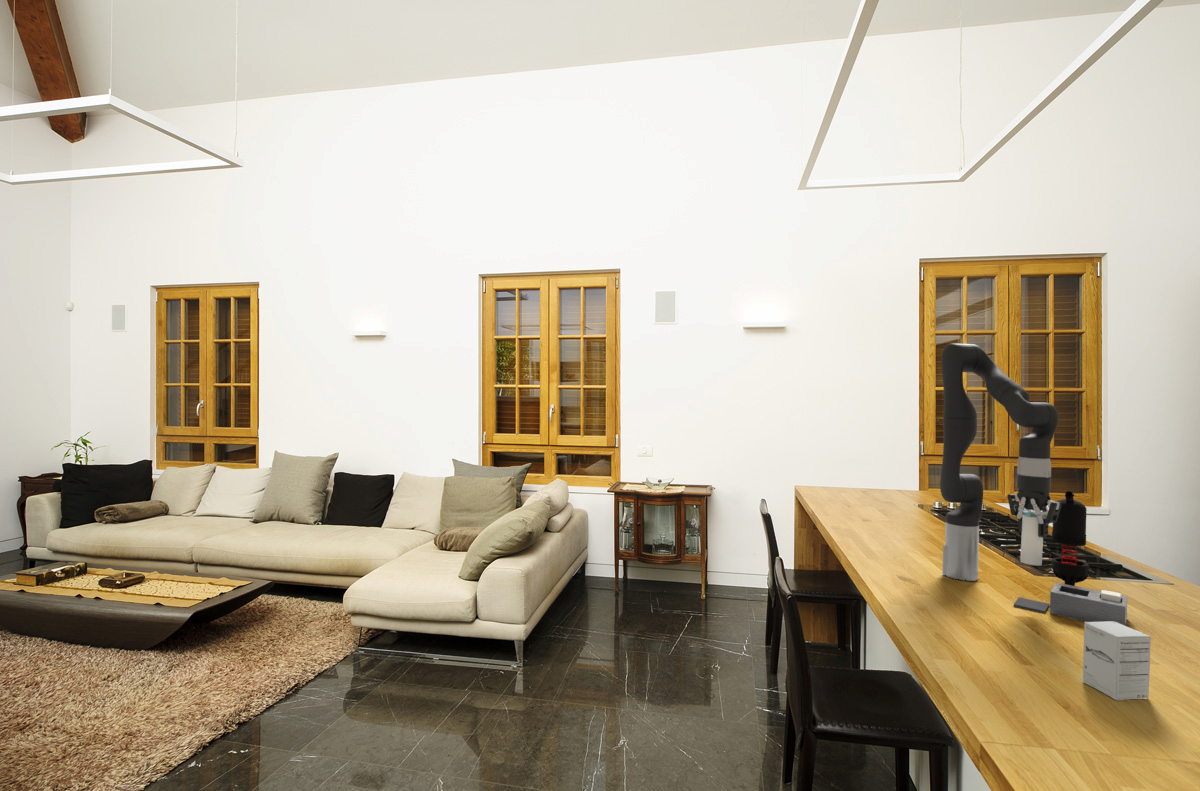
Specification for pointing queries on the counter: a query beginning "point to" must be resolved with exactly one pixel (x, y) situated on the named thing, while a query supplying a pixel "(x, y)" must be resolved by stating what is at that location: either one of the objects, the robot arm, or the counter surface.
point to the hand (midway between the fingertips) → (1032, 534)
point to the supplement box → (1116, 660)
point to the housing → (1086, 605)
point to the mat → (1031, 605)
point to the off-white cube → (1111, 596)
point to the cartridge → (1031, 540)
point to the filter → (1070, 540)
